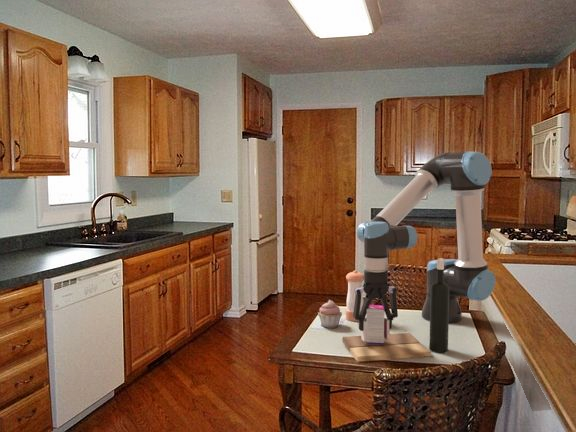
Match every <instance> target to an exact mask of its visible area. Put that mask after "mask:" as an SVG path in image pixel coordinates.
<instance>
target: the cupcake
mask: <svg viewBox="0 0 576 432" xmlns="http://www.w3.org/2000/svg"><path fill="white" fill-rule="evenodd" d="M317 315H318V318H319V319H320V324H321V327H323V328H326V329H335V328H338V327H339V325H340V321H341V318H342V315H343V313H342V311H341V308H340V307H339V306H338V305H337V304H336V303H335V302H334V301H333V300H331V299H328V300H327V302H325V303H324V304H322V305H321V307H319V311H318V312H317Z"/></svg>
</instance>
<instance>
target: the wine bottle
mask: <svg viewBox="0 0 576 432" xmlns="http://www.w3.org/2000/svg"><path fill="white" fill-rule="evenodd" d="M436 260H437V282H435V283H433V284H432V285H431V296H430V320H429V348H428V349H429V350H430V351H431V353H432V352H433V353H436V354H437V353H438V354H444V353H448V351H449V286H448V284H446V283H444V282H443V275H444V258H441V257H439V258H437V259H436Z"/></svg>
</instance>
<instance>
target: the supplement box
mask: <svg viewBox="0 0 576 432" xmlns="http://www.w3.org/2000/svg"><path fill="white" fill-rule="evenodd" d="M384 318H385V311H384V307H383V306H382V304H381V305H380V304H379V305H377V304H376V305H375V304H370V306H369V308H368V309H367V314H366V344H382V345H383V344H384Z"/></svg>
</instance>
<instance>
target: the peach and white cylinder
mask: <svg viewBox="0 0 576 432" xmlns="http://www.w3.org/2000/svg"><path fill="white" fill-rule="evenodd" d="M345 278H346V281H347V285H348V286H347V288H348V289H347V295H346V309H345V320H347V321H349V322H359V320H356V319H355V318H354V317H353V312H354V304H355V296H356V295H355V288H362V287H363V282H364V273H361V272H360V271H359V272H358V271H357V270H353V271H352V272H351V271H350V272H349V273H347V274H346V275H345ZM363 295H364V294H362V295H361V305H360V311H361V309H362V306H363V303H364V297H363ZM359 314H360V313H359Z"/></svg>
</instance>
